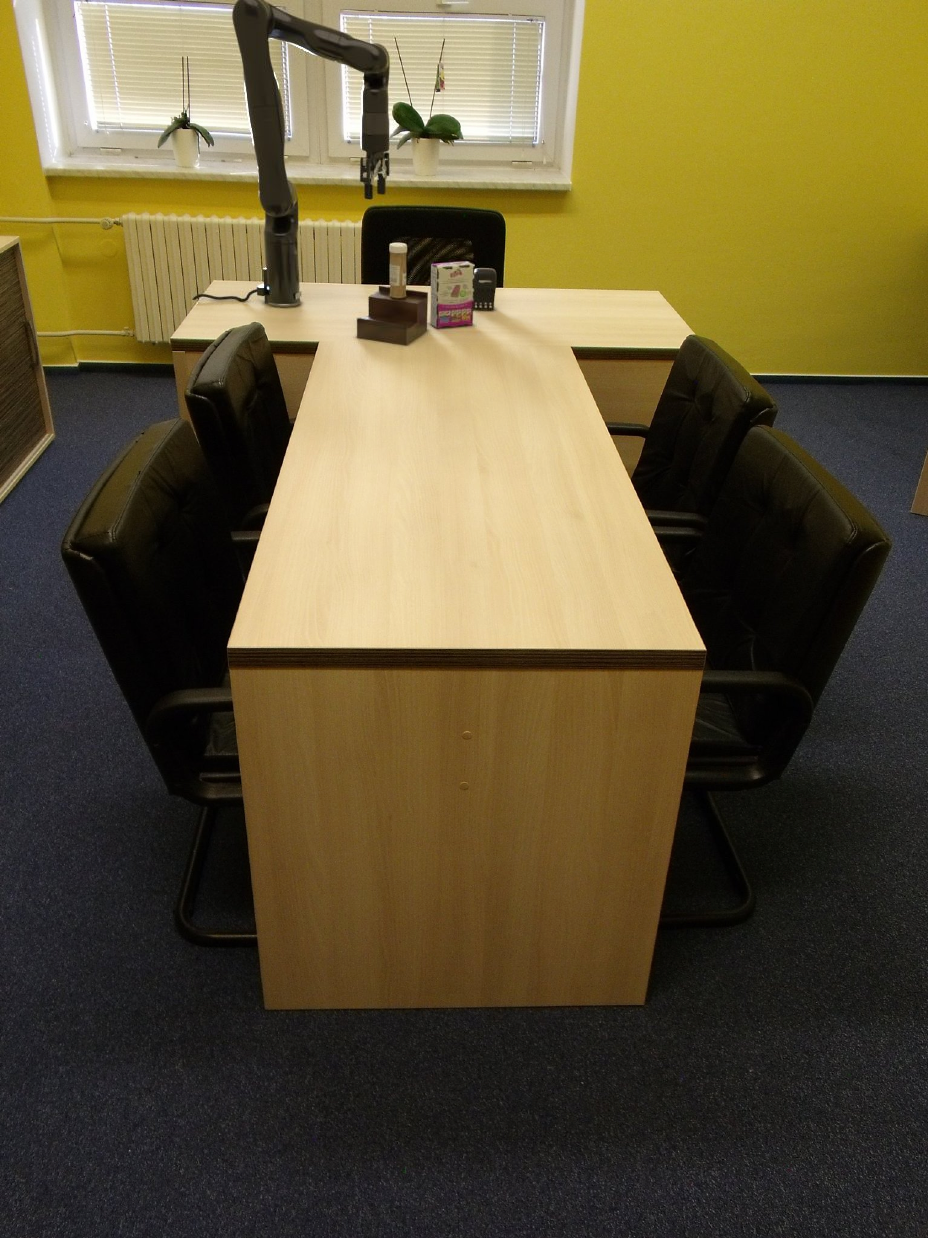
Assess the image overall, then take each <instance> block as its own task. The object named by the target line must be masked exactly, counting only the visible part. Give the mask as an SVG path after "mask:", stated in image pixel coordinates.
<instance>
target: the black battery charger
mask: <svg viewBox="0 0 928 1238" xmlns="http://www.w3.org/2000/svg"><path fill="white" fill-rule="evenodd" d="M497 277H498V276H497V272H496V270H495V269H494V268H489V267H488V268H487V267H486V268H485V267H479V268H475V270H474V297H473V298H474V299H473V311H474V310H475V311H493V310H494V309H495V297H496V289H497V280H498V279H497Z"/></svg>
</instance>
